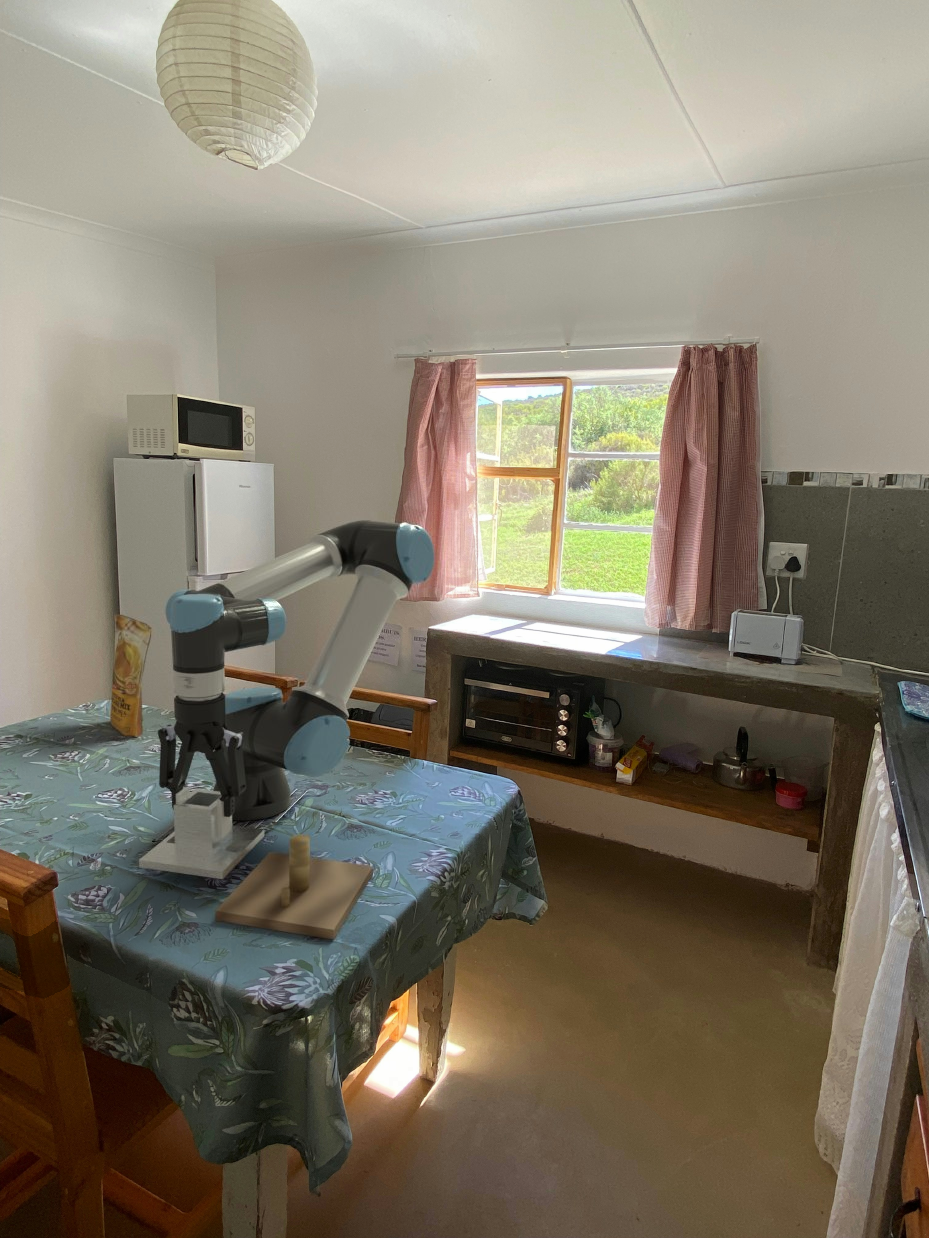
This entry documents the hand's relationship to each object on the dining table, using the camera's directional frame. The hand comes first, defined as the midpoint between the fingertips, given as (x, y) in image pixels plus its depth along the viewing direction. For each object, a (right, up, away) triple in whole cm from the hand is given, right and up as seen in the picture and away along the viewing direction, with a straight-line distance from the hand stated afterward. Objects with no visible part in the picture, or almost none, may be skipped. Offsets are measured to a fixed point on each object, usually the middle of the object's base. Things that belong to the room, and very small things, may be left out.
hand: (204, 830), depth 117 cm
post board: (+17, -9, -5) cm, 19 cm away
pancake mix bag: (-42, +7, +65) cm, 78 cm away
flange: (0, -3, +1) cm, 3 cm away
